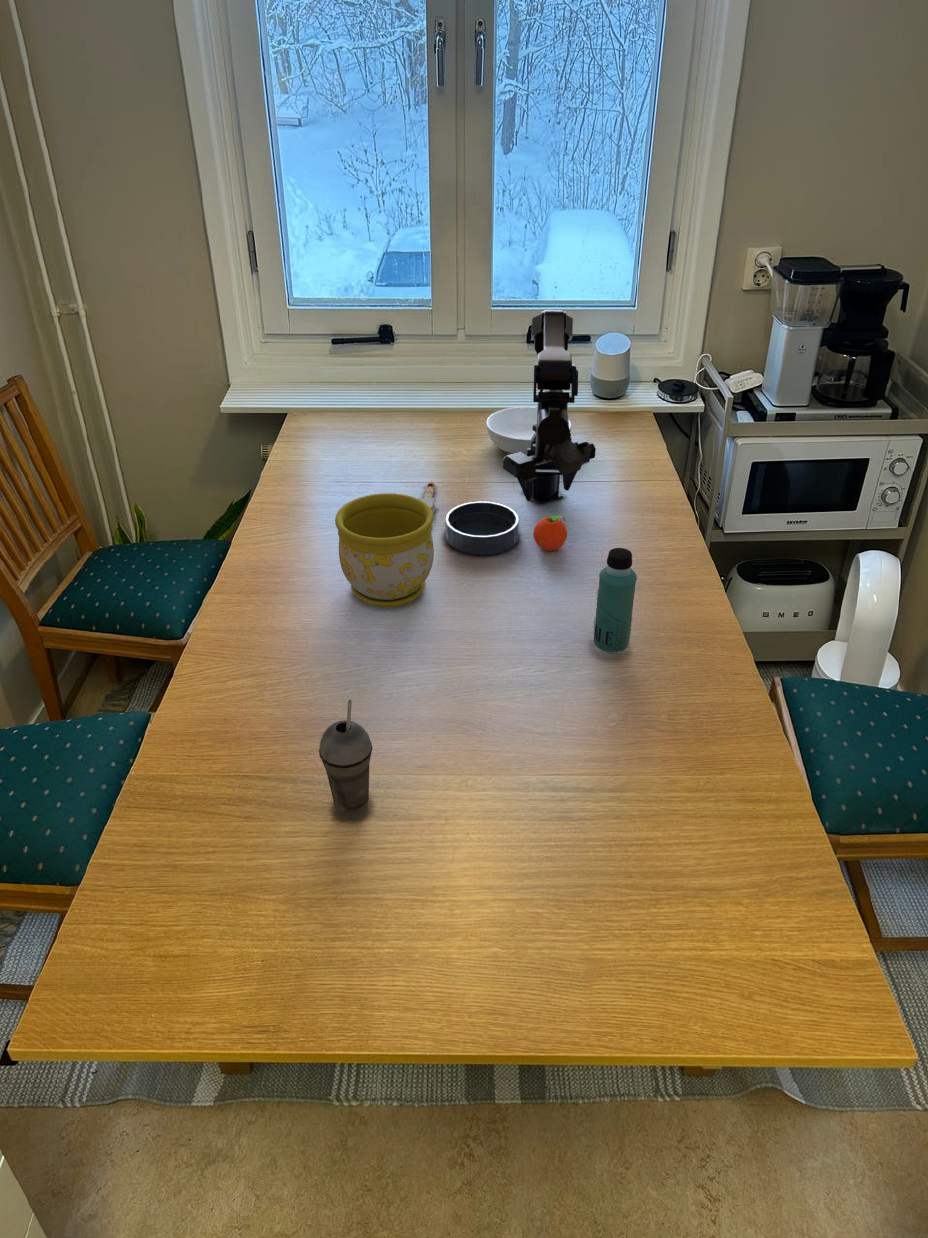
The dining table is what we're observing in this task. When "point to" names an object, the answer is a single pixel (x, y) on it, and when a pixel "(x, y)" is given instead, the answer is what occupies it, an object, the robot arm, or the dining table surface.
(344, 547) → the flowerpot
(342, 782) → the beverage cup
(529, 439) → the serving bowl
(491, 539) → the fruit bowl
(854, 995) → the dining table surface
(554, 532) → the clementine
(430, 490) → the paintbrush
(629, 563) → the beverage bottle
